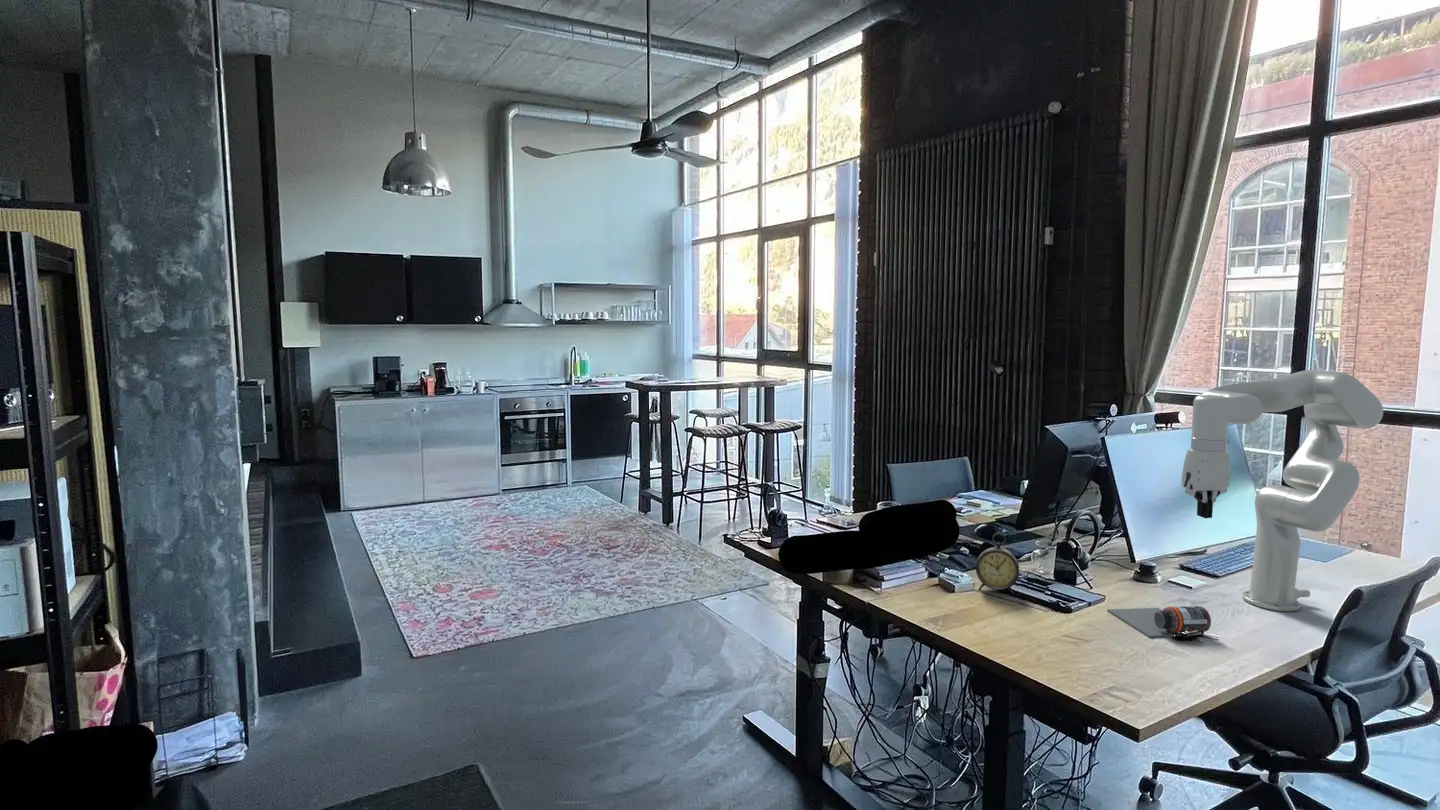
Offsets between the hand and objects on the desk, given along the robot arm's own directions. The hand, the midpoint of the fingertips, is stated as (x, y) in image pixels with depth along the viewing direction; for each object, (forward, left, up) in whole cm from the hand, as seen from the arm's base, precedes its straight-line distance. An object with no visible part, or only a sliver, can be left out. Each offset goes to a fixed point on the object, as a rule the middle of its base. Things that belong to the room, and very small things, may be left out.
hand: (1204, 516), depth 193 cm
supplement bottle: (+7, +11, -22) cm, 26 cm away
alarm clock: (+44, -19, -26) cm, 54 cm away
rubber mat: (+15, +5, -25) cm, 30 cm away
